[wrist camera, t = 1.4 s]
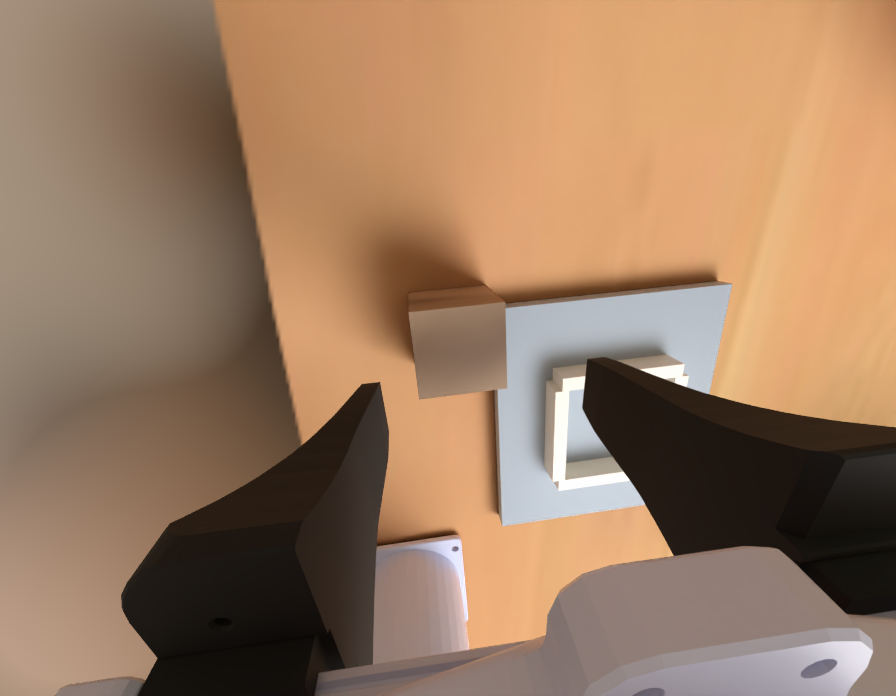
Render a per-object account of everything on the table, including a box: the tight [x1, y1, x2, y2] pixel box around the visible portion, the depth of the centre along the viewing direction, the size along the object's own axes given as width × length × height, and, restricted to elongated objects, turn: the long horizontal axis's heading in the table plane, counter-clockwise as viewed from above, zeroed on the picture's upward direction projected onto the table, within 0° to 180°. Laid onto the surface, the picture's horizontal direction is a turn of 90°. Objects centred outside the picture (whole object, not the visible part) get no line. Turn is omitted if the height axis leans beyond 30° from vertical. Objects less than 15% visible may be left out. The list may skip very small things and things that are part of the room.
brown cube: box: [408, 285, 507, 399], centre depth 19 cm, size 4×4×4 cm
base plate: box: [494, 281, 732, 526], centre depth 23 cm, size 16×14×2 cm
